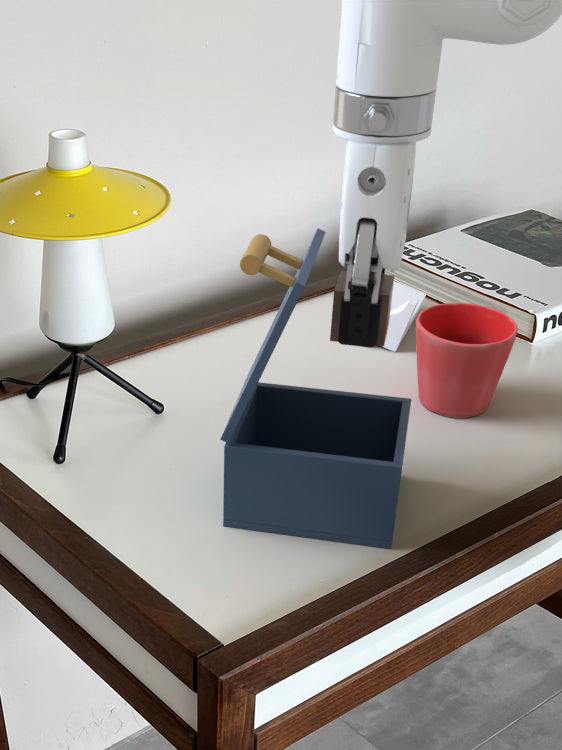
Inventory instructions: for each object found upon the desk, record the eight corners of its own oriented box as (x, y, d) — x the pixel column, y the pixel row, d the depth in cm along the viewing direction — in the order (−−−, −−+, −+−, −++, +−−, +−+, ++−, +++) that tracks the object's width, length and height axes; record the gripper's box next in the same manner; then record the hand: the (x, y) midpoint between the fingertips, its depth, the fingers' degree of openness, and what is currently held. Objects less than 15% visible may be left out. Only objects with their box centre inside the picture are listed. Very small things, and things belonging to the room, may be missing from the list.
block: (388, 324, 89) (394, 275, 87) (383, 346, 86) (389, 295, 83) (336, 319, 90) (341, 270, 88) (329, 341, 87) (334, 290, 84)
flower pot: (523, 404, 113) (539, 324, 108) (460, 436, 108) (475, 353, 102) (448, 370, 120) (460, 293, 115) (385, 399, 115) (395, 319, 109)
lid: (326, 231, 90) (268, 204, 90) (304, 286, 80) (240, 256, 80) (254, 378, 100) (203, 354, 100) (228, 443, 90) (170, 417, 90)
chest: (401, 475, 102) (411, 398, 97) (391, 549, 92) (402, 467, 87) (248, 456, 105) (251, 381, 100) (222, 526, 95) (224, 446, 90)
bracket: (392, 358, 125) (415, 305, 120) (340, 335, 126) (360, 282, 121) (416, 317, 135) (438, 267, 130) (367, 296, 136) (387, 246, 131)
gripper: (426, 145, 70) (396, 380, 80) (438, 89, 83) (411, 297, 94) (318, 138, 71) (302, 370, 82) (347, 84, 85) (330, 289, 95)
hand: (360, 329), depth 88 cm, fingers closed on block, 4 cm apart
